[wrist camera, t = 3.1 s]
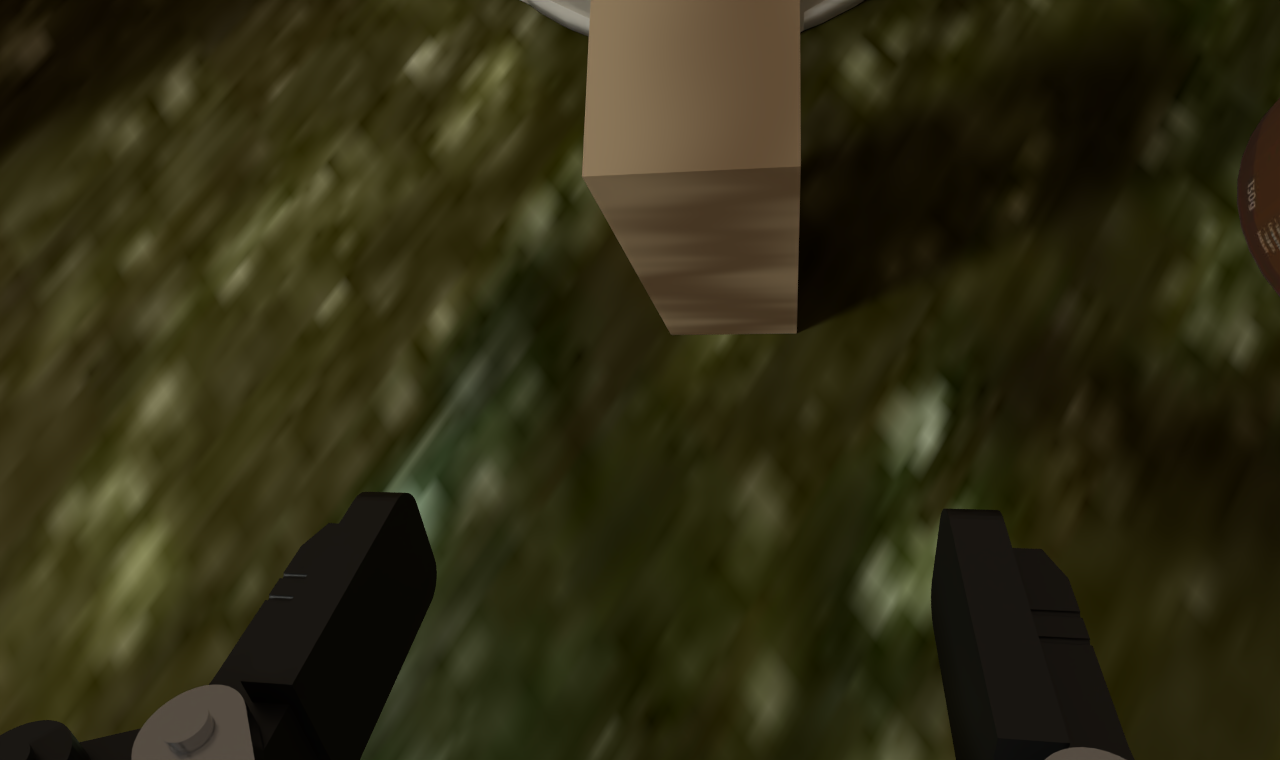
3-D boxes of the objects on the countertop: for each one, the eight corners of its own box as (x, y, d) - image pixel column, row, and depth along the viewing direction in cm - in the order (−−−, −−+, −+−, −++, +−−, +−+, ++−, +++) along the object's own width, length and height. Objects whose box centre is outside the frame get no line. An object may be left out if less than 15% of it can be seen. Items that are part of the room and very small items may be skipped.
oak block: (671, 334, 27) (582, 176, 16) (674, 218, 28) (591, -15, 16) (796, 333, 27) (800, 166, 15) (796, 213, 27) (799, -34, 16)
